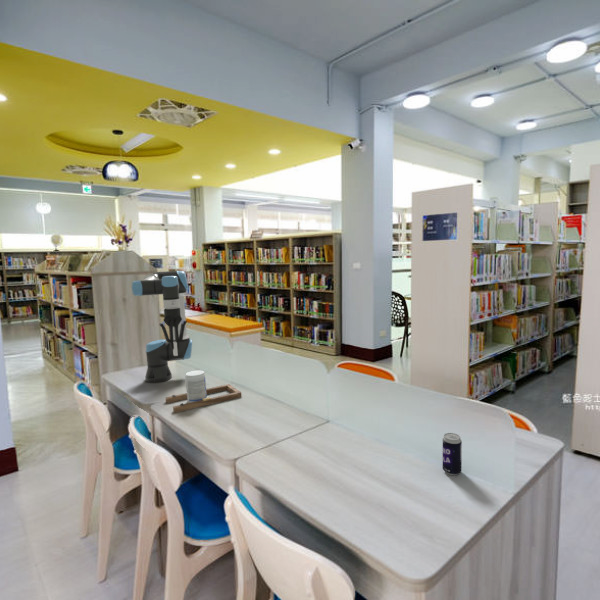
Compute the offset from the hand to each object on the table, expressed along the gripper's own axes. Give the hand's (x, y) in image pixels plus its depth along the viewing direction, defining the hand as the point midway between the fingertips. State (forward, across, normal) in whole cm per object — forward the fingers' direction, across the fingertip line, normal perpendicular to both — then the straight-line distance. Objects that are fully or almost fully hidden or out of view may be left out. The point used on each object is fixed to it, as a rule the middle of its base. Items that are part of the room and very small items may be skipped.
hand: (175, 355), depth 195 cm
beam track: (+25, +11, -3) cm, 27 cm away
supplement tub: (+25, +8, -3) cm, 26 cm away
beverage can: (+24, +57, -117) cm, 133 cm away
